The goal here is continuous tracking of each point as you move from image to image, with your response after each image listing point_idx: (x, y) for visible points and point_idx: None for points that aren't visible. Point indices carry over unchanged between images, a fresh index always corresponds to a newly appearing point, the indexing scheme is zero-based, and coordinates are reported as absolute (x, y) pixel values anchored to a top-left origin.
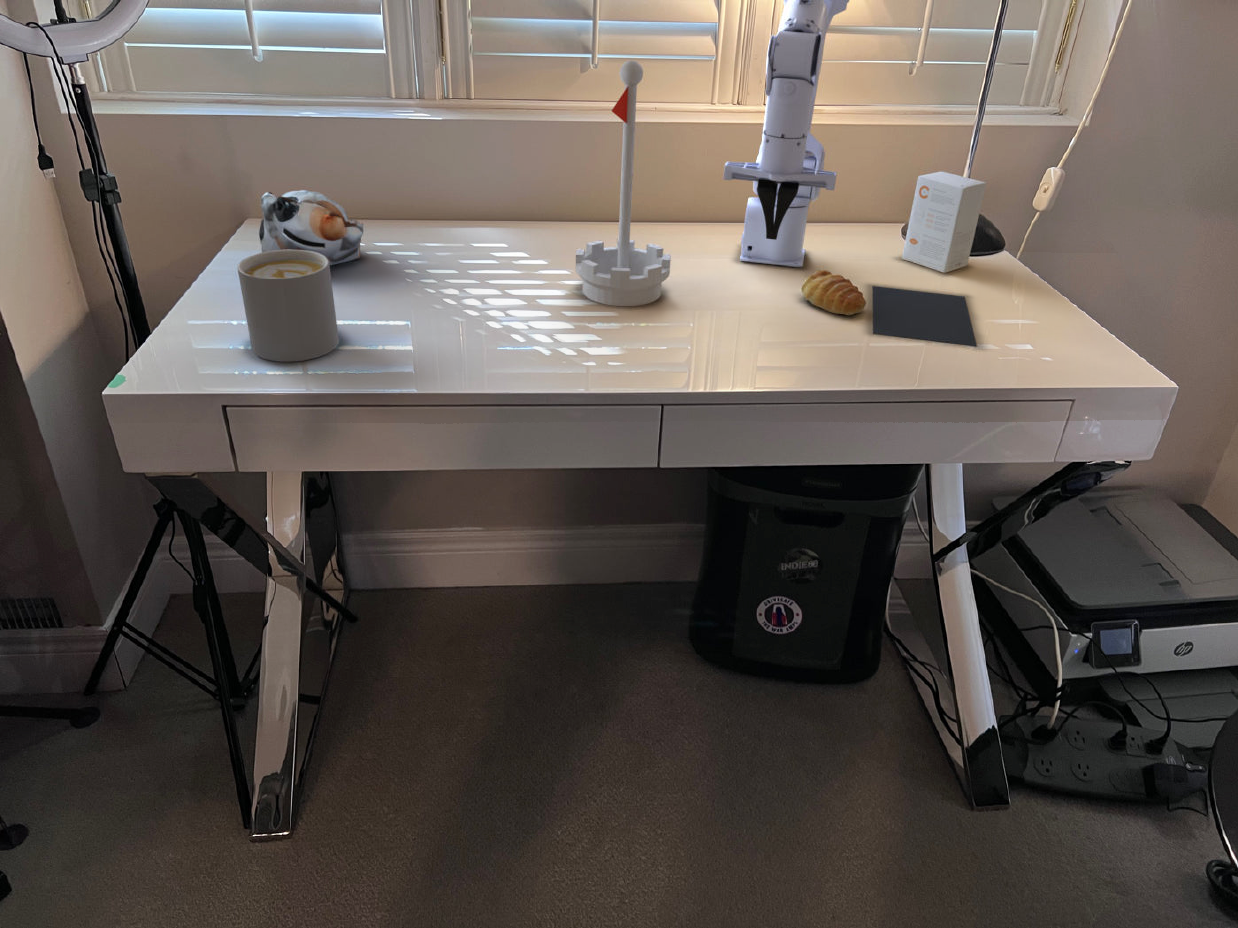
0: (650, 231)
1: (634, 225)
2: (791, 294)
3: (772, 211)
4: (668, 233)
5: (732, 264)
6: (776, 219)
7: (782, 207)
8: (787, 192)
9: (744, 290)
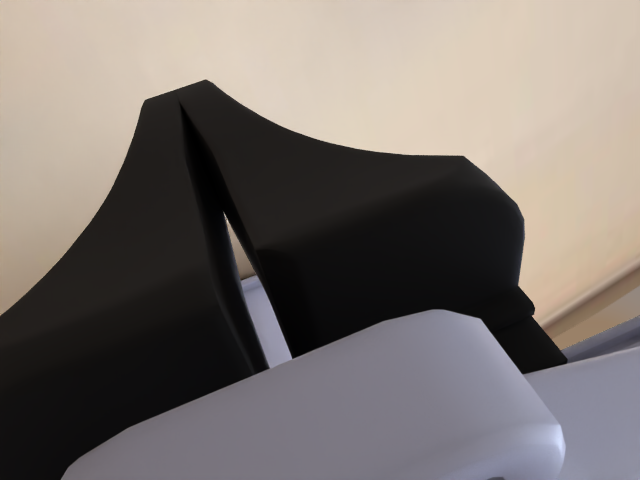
0: (592, 255)
1: (626, 260)
2: (53, 89)
3: (224, 167)
4: (552, 272)
5: None
6: (167, 153)
7: (129, 228)
8: (53, 354)
9: (242, 7)
